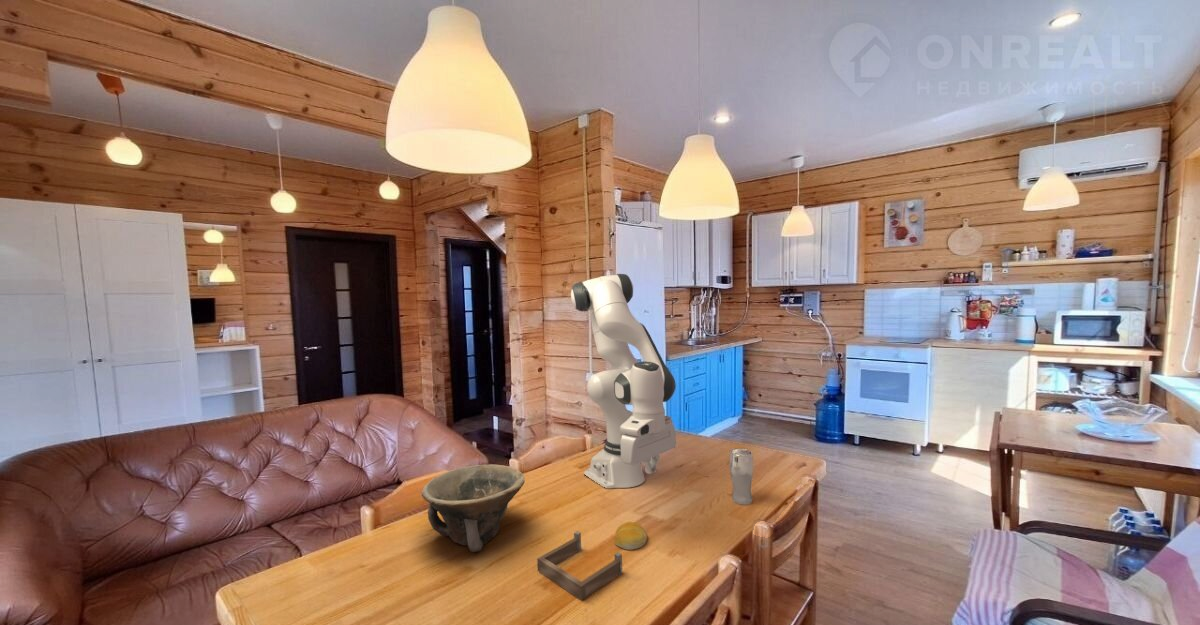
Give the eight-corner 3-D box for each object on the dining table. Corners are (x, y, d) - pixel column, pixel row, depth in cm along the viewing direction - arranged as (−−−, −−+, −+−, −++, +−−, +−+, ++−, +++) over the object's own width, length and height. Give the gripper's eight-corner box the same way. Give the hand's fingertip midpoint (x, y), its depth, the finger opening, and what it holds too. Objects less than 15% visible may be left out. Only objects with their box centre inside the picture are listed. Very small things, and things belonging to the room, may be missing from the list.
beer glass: (755, 506, 131) (754, 456, 131) (731, 504, 133) (730, 455, 132) (752, 496, 138) (751, 448, 138) (729, 494, 139) (728, 448, 139)
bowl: (494, 501, 140) (492, 455, 139) (545, 531, 121) (543, 477, 121) (408, 535, 121) (406, 481, 121) (453, 575, 102) (450, 512, 102)
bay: (537, 570, 103) (536, 552, 103) (578, 547, 112) (577, 530, 112) (581, 600, 92) (580, 580, 92) (622, 572, 101) (621, 553, 101)
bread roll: (612, 550, 111) (612, 534, 111) (617, 532, 120) (617, 517, 120) (645, 552, 109) (645, 536, 109) (648, 533, 118) (647, 519, 118)
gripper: (662, 412, 130) (664, 459, 130) (615, 428, 116) (618, 480, 116) (680, 415, 126) (682, 463, 126) (633, 431, 111) (636, 486, 111)
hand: (651, 472), depth 120 cm, fingers closed
